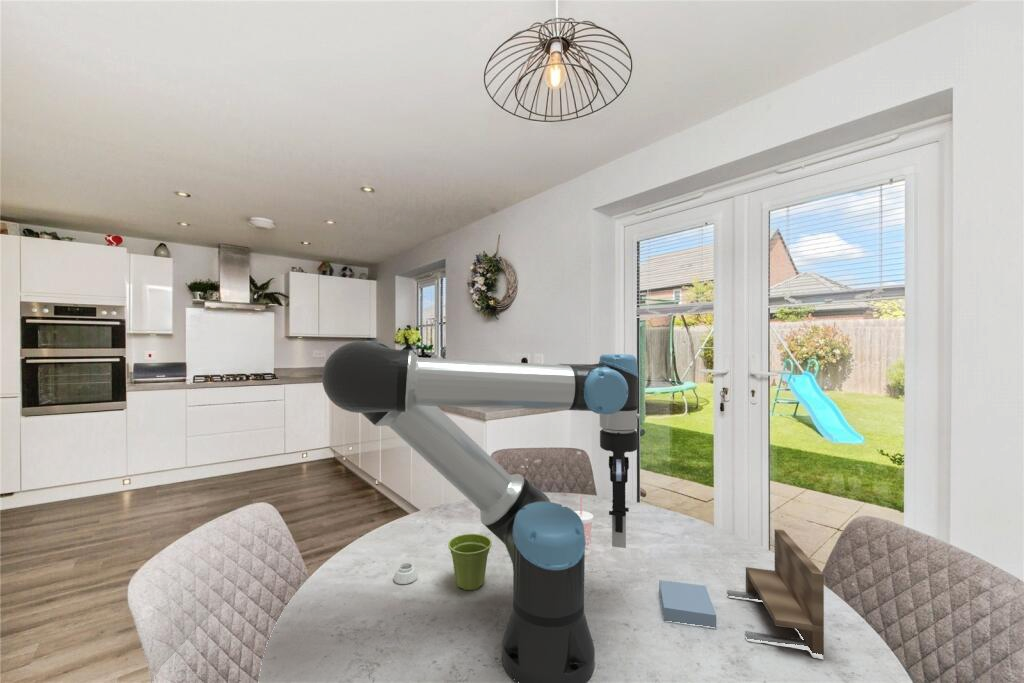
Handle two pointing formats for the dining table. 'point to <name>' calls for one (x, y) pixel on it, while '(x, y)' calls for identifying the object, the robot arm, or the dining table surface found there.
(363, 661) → the dining table surface
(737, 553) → the dining table surface
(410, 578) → the white jar
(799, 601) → the shelf
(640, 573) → the dining table surface
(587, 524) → the beverage cup
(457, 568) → the plant pot
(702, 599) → the light blue block
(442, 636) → the dining table surface
